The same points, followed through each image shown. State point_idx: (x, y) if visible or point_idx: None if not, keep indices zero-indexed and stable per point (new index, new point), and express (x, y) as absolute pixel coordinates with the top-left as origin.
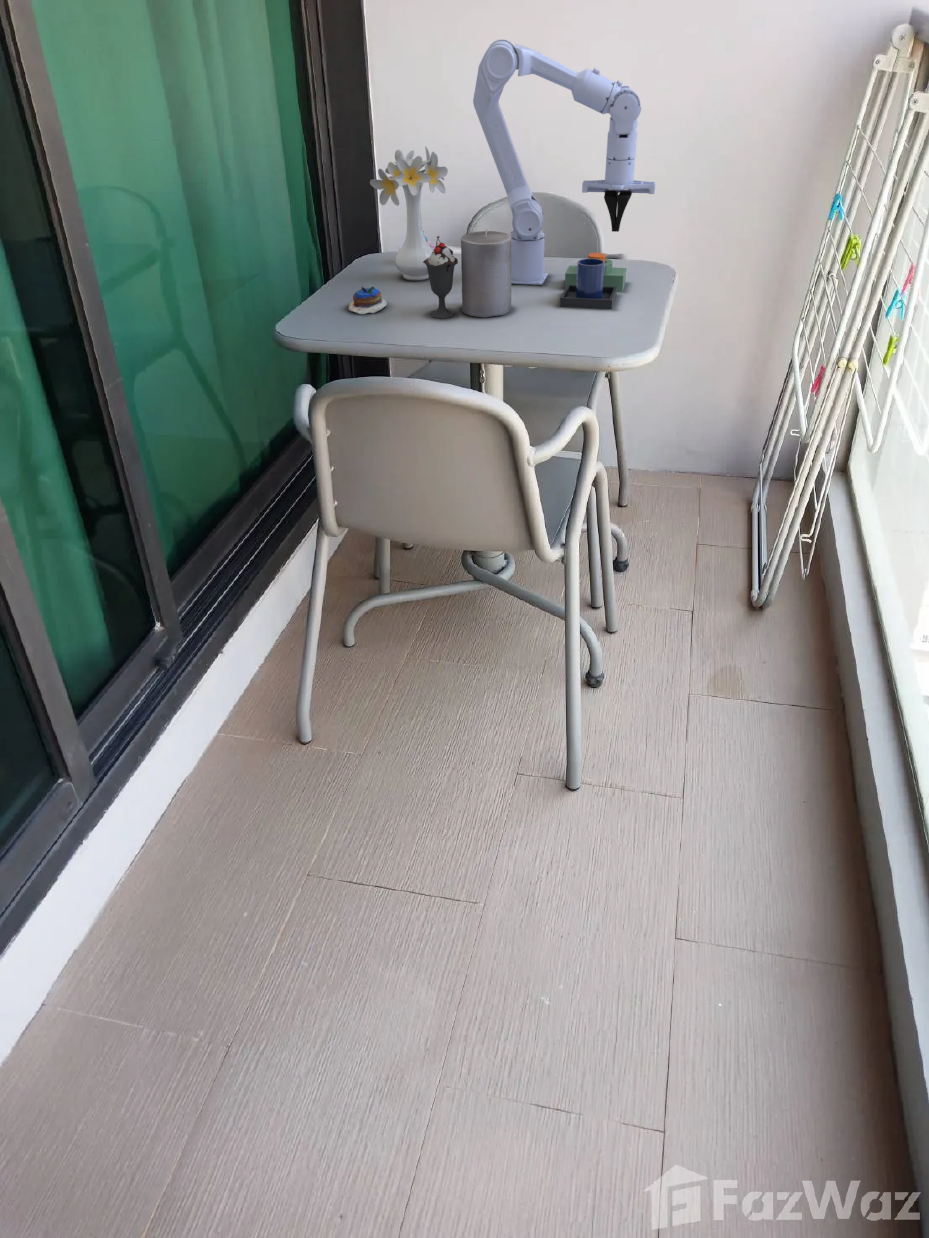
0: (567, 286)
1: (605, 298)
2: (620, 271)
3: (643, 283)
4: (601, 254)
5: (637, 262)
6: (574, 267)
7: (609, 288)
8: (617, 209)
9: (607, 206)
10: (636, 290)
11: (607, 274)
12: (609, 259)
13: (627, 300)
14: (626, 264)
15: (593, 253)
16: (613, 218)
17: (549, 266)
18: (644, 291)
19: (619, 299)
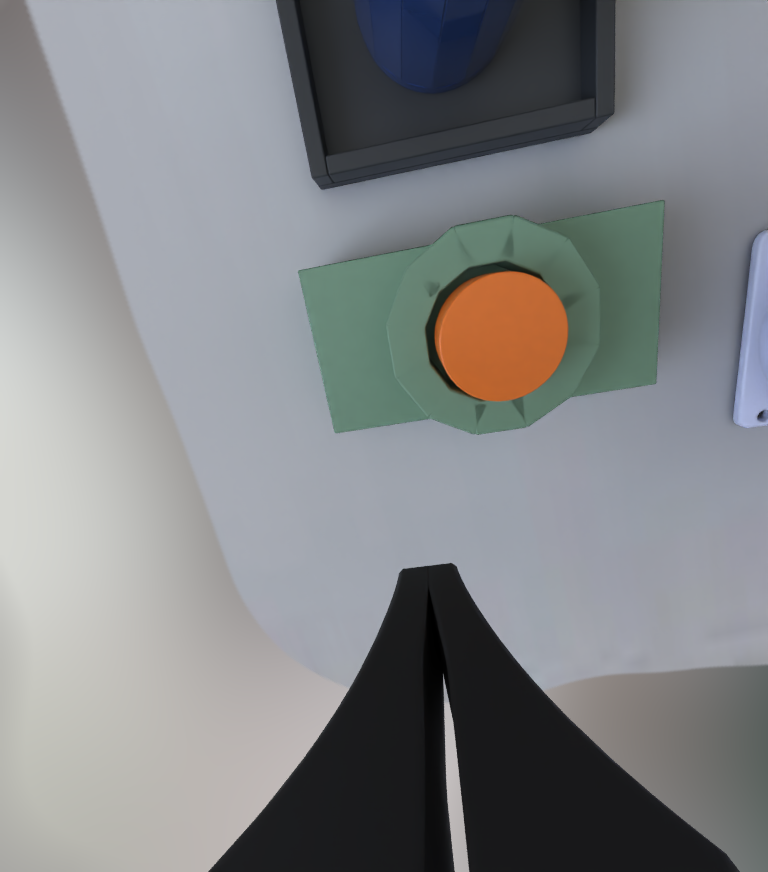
0: (606, 62)
1: (342, 36)
2: (342, 354)
3: (271, 439)
4: (472, 359)
5: None
6: (621, 354)
7: (350, 153)
8: (419, 725)
9: (595, 748)
10: (262, 324)
11: (395, 267)
12: (423, 407)
13: (241, 125)
14: None
15: (535, 369)
16: (458, 634)
17: (731, 560)
18: (222, 320)
19: (286, 128)
